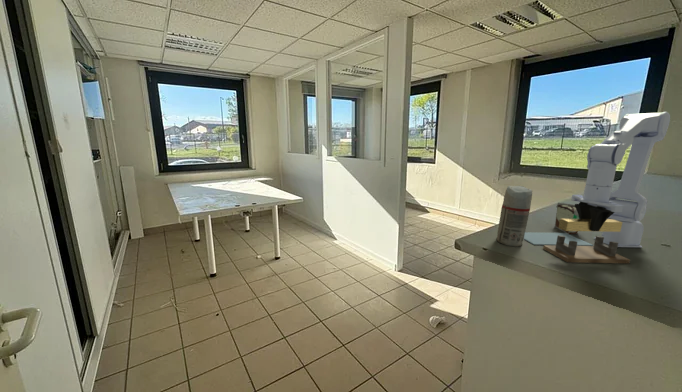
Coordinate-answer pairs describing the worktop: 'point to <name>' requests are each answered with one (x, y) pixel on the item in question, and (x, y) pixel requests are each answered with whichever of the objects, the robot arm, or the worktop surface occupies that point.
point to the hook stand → (586, 251)
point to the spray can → (514, 215)
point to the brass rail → (584, 225)
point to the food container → (566, 214)
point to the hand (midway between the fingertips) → (589, 228)
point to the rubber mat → (551, 238)
